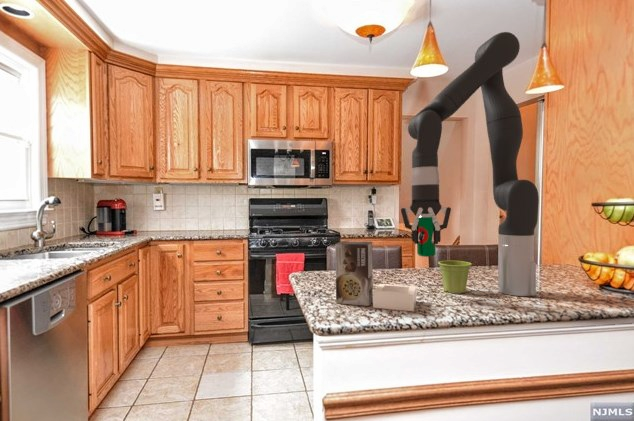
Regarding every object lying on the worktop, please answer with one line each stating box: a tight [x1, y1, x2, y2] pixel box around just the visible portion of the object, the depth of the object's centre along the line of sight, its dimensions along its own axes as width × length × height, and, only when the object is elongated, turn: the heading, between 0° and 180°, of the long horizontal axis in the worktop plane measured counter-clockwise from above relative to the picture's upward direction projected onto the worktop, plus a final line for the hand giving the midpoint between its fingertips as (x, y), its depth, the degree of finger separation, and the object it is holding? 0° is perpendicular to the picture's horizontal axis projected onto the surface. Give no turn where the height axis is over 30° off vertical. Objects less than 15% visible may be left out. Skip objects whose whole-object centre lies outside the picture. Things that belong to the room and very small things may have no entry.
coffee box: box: [334, 240, 374, 307], centre depth 97 cm, size 9×6×16 cm
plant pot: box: [437, 260, 472, 295], centre depth 109 cm, size 9×9×9 cm
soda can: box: [416, 214, 437, 258], centre depth 103 cm, size 5×5×12 cm
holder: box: [372, 283, 418, 312], centre depth 95 cm, size 10×10×4 cm
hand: (426, 243), depth 103 cm, fingers closed on soda can, 5 cm apart
